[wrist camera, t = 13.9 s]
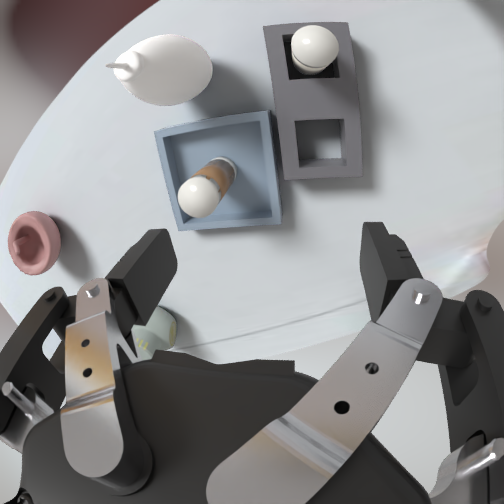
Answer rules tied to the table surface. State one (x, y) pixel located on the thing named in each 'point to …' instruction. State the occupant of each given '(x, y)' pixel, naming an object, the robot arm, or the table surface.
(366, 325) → the robot arm
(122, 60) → the sauce bottle
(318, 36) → the cylinder
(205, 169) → the cylinder
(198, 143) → the parts tray
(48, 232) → the mortar and pestle
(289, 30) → the block
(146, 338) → the air freshener
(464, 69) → the table surface
